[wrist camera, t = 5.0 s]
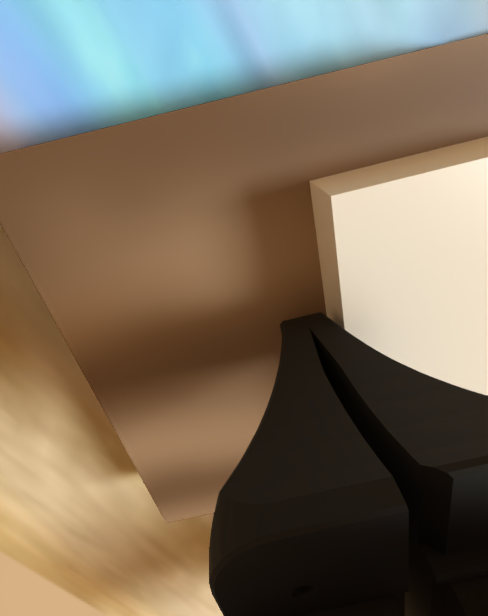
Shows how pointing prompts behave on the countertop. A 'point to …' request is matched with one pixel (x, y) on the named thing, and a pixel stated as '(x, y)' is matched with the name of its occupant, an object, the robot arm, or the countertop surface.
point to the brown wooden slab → (213, 245)
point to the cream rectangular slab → (411, 259)
